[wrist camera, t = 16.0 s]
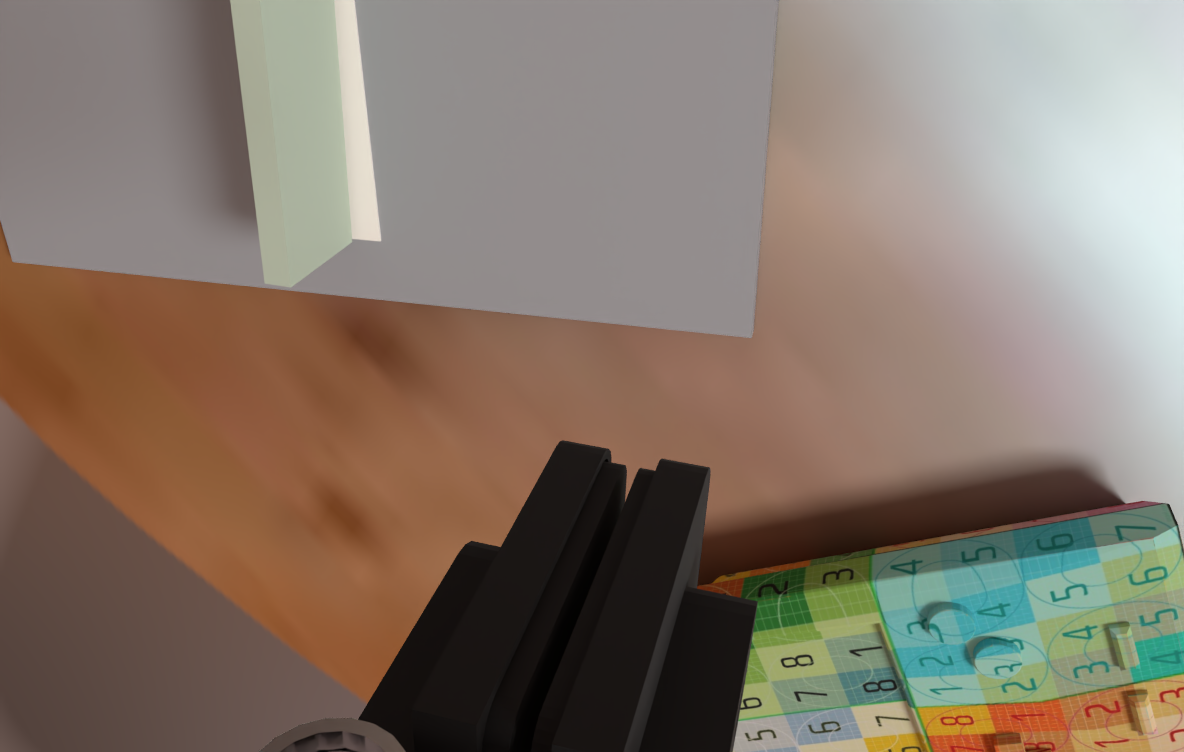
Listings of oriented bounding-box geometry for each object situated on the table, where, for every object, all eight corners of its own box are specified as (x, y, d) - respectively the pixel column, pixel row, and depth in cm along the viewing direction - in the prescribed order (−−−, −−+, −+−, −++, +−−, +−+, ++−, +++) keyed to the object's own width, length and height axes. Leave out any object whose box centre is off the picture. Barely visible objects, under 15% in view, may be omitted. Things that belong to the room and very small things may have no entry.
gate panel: (320, -177, 32) (240, -180, 28) (352, 241, 38) (290, 287, 34) (292, -178, 32) (208, -182, 28) (328, 238, 38) (264, 283, 34)
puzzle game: (1246, 806, 36) (719, 841, 43) (1210, 709, 40) (733, 757, 47) (1185, 542, 32) (617, 633, 39) (1151, 463, 36) (642, 560, 43)
